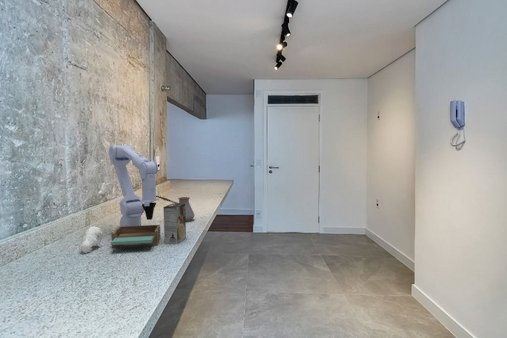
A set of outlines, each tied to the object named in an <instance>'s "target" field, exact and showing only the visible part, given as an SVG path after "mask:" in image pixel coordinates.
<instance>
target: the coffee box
mask: <svg viewBox="0 0 507 338" xmlns="http://www.w3.org/2000/svg"><path fill="white" fill-rule="evenodd" d="M163 234H164V244H174V245H178V244H180V243H181V242H182V241H184V240H185V239H186V238H187V222H186V216H185V204H180V203H179V202H178V203H173V202H171V203H170V204H168V205H164V206H163Z"/></svg>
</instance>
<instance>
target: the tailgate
mask: <svg viewBox="0 0 507 338" xmlns="http://www.w3.org/2000/svg"><path fill="white" fill-rule="evenodd" d="M153 239H154V236H144V237H125V238H115V239H114V240H112V239H111V241H110V246H112V245H121V244H124V245H140V243H152V241H153Z"/></svg>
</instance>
